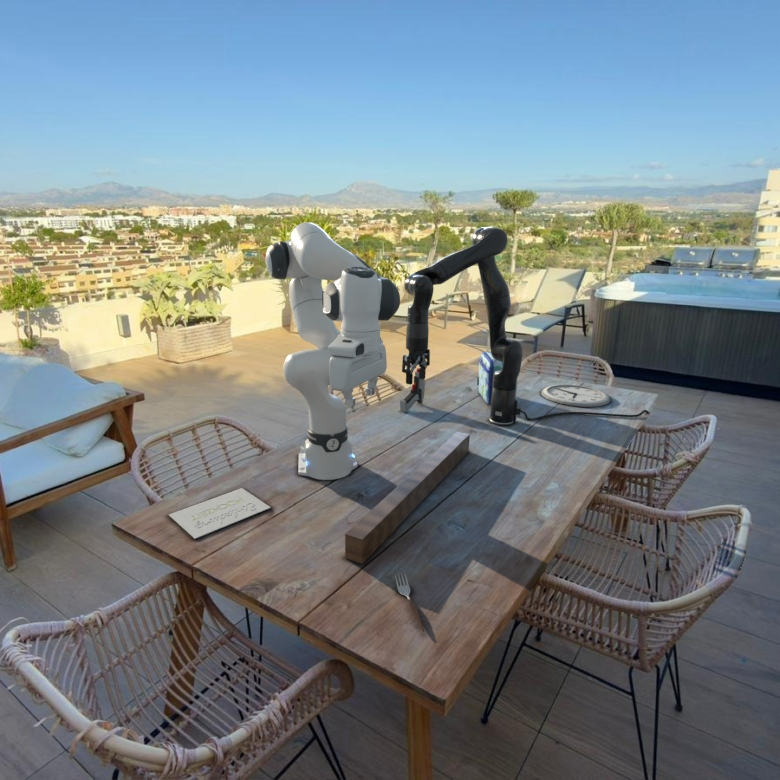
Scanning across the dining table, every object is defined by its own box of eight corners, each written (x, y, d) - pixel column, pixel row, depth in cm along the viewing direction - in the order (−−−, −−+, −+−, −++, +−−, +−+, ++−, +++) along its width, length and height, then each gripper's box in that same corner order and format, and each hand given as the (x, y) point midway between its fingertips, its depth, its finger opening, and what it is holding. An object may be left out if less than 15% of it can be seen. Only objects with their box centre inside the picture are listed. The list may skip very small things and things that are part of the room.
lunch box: (475, 390, 246) (478, 346, 240) (498, 390, 246) (501, 347, 240) (484, 408, 221) (487, 360, 215) (509, 409, 221) (513, 360, 215)
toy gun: (399, 376, 211) (420, 366, 222) (400, 413, 216) (420, 401, 228) (404, 377, 209) (424, 367, 220) (404, 414, 215) (424, 403, 226)
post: (456, 448, 181) (457, 431, 179) (468, 451, 179) (469, 434, 177) (345, 558, 120) (344, 534, 118) (362, 564, 118) (362, 539, 116)
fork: (417, 635, 98) (417, 626, 97) (393, 581, 112) (394, 573, 112) (430, 632, 98) (430, 623, 98) (405, 579, 113) (405, 571, 112)
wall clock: (623, 402, 226) (556, 403, 224) (623, 406, 227) (556, 407, 224) (592, 383, 255) (532, 383, 252) (591, 386, 255) (532, 386, 253)
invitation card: (241, 487, 151) (270, 507, 140) (241, 488, 151) (270, 508, 141) (168, 514, 136) (194, 538, 126) (168, 515, 136) (194, 539, 126)
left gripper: (370, 333, 128) (370, 387, 132) (323, 348, 110) (325, 410, 114) (393, 335, 125) (392, 390, 129) (349, 351, 107) (350, 415, 111)
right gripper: (415, 340, 168) (414, 388, 173) (437, 333, 180) (435, 378, 185) (396, 337, 172) (395, 384, 177) (418, 330, 184) (417, 375, 189)
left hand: (360, 400), depth 121 cm, fingers open, 8 cm apart
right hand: (415, 381), depth 181 cm, fingers open, 8 cm apart
